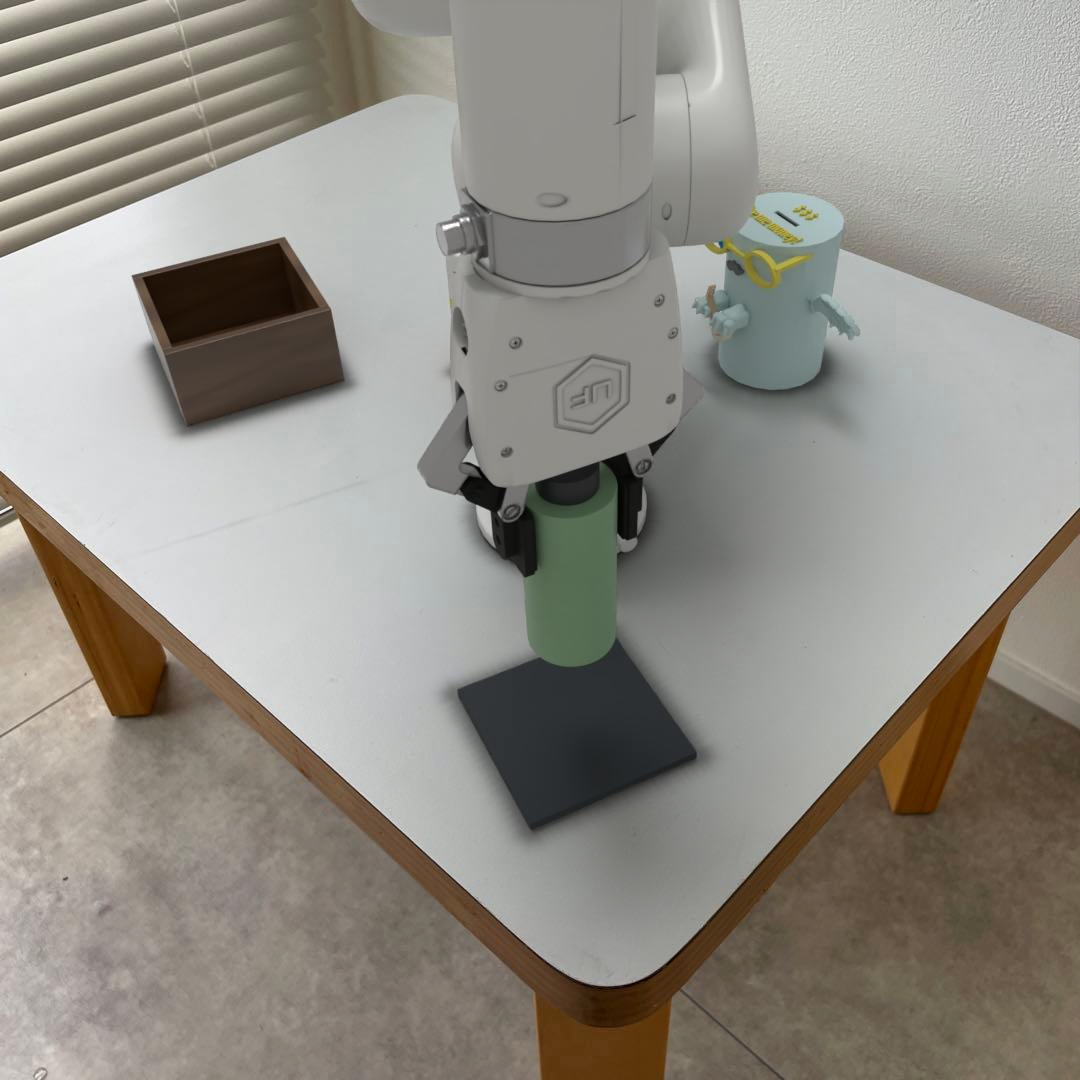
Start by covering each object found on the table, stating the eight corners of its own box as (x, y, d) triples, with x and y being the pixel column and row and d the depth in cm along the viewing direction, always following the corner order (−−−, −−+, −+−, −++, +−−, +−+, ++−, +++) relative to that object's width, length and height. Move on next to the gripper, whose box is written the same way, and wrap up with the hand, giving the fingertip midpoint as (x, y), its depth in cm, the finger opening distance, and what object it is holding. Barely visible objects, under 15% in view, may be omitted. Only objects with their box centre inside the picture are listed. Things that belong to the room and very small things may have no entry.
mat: (696, 757, 68) (697, 752, 68) (530, 830, 65) (530, 824, 64) (610, 635, 75) (610, 629, 75) (457, 694, 72) (456, 689, 72)
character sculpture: (636, 329, 102) (640, 188, 92) (741, 292, 105) (755, 153, 96) (774, 449, 89) (794, 300, 79) (888, 403, 92) (920, 255, 83)
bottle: (631, 647, 63) (636, 475, 54) (550, 679, 62) (542, 508, 53) (590, 590, 66) (588, 419, 58) (512, 619, 65) (499, 448, 56)
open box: (345, 383, 97) (331, 309, 92) (188, 430, 93) (164, 355, 88) (299, 308, 106) (284, 236, 101) (154, 347, 102) (131, 274, 97)
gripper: (396, 318, 42) (443, 646, 54) (786, 209, 47) (747, 533, 59) (333, 231, 47) (390, 549, 59) (692, 140, 52) (674, 452, 64)
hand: (568, 538), depth 59 cm, fingers closed on bottle, 5 cm apart
